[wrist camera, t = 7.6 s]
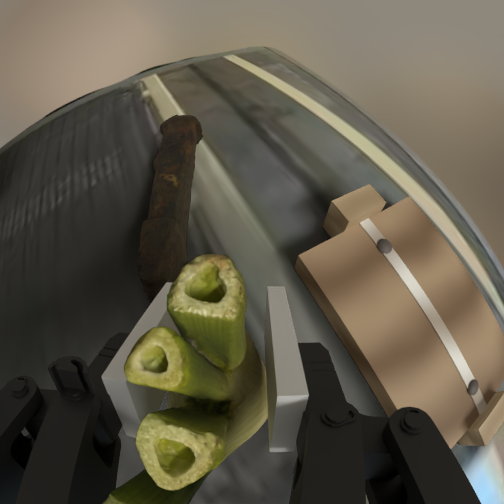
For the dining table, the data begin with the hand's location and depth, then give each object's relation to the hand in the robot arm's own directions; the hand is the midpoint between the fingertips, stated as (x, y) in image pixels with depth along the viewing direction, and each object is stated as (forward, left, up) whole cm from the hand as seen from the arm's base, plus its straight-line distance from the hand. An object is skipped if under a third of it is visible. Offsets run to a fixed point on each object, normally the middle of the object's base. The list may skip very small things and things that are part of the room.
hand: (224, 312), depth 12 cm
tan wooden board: (+7, +12, -6) cm, 15 cm away
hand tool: (-11, +1, -6) cm, 13 cm away
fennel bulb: (+3, -2, -4) cm, 5 cm away
